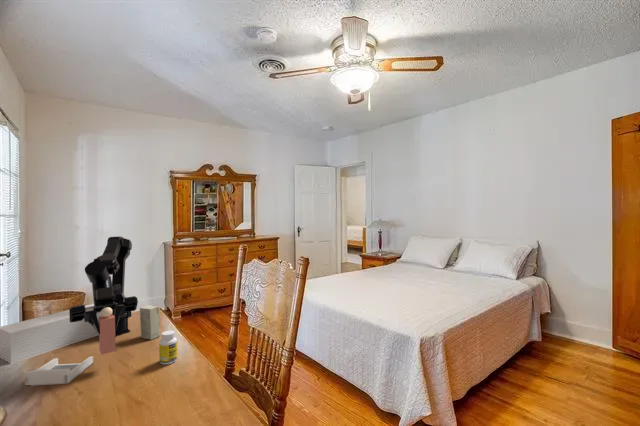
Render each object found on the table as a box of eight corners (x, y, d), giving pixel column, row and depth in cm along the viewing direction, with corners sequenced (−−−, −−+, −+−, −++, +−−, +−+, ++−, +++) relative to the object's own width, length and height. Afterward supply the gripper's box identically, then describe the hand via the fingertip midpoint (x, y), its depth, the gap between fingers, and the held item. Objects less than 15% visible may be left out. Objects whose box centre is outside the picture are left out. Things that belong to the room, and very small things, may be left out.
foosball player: (99, 350, 104) (98, 307, 104) (114, 346, 107) (112, 304, 106) (100, 354, 101) (99, 310, 101) (115, 351, 104) (114, 307, 103)
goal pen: (55, 365, 106) (54, 353, 106) (93, 363, 107) (92, 351, 107) (24, 385, 94) (24, 372, 94) (67, 383, 95) (67, 370, 95)
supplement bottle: (170, 365, 105) (169, 336, 105) (156, 364, 107) (155, 335, 106) (180, 358, 111) (180, 330, 110) (167, 356, 112) (166, 328, 112)
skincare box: (160, 336, 130) (160, 306, 129) (151, 340, 126) (150, 309, 125) (149, 333, 132) (149, 304, 132) (140, 337, 128) (139, 307, 128)
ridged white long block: (97, 327, 141) (97, 302, 141) (111, 331, 136) (110, 306, 136) (-2, 357, 113) (-3, 327, 113) (11, 364, 108) (9, 332, 108)
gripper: (68, 281, 100) (70, 327, 92) (136, 273, 112) (143, 312, 104) (68, 300, 107) (70, 344, 99) (132, 290, 119) (139, 329, 110)
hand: (107, 331), depth 103 cm, fingers closed on foosball player, 4 cm apart
